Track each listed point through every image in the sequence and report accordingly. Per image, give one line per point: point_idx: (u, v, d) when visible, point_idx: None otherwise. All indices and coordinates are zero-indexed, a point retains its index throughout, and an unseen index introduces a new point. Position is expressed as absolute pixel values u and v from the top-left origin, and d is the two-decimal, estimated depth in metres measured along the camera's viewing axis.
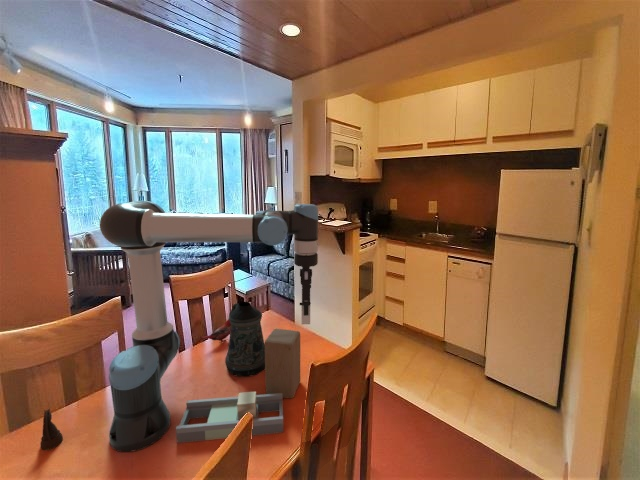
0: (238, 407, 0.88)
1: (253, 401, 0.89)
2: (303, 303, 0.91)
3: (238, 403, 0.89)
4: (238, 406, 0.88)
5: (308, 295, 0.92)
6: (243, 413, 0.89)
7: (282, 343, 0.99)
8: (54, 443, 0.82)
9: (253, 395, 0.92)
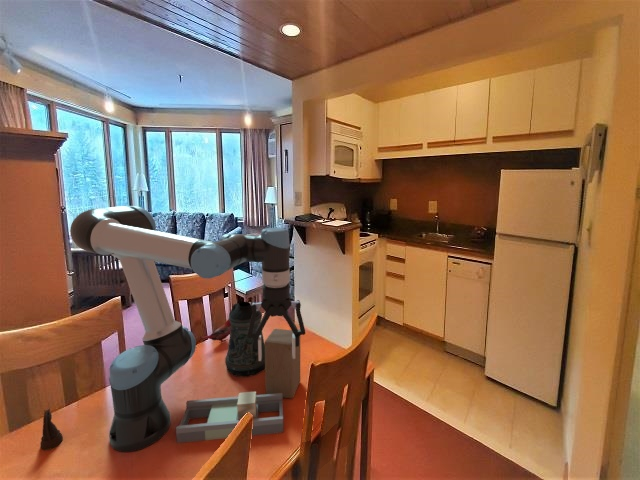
0: (238, 407, 0.88)
1: (253, 401, 0.89)
2: None
3: (238, 403, 0.89)
4: (238, 406, 0.88)
5: (249, 327, 0.86)
6: (243, 413, 0.89)
7: (282, 343, 0.99)
8: (54, 443, 0.82)
9: (253, 395, 0.92)
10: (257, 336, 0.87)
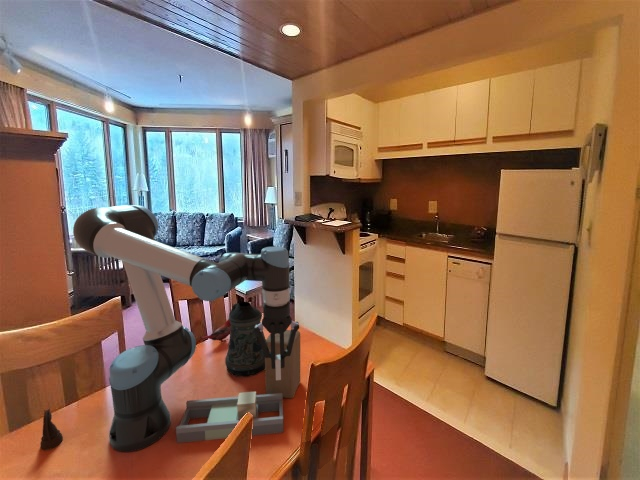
0: (238, 407, 0.88)
1: (253, 401, 0.89)
2: None
3: (238, 403, 0.89)
4: (238, 406, 0.88)
5: (262, 348, 0.88)
6: (243, 413, 0.89)
7: None
8: (54, 443, 0.82)
9: (253, 395, 0.92)
10: (273, 356, 0.88)
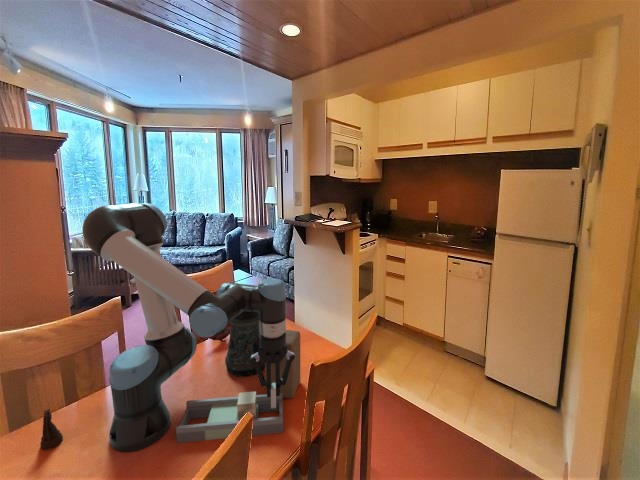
0: (238, 407, 0.88)
1: (253, 401, 0.89)
2: None
3: (238, 403, 0.89)
4: (238, 406, 0.88)
5: None
6: (243, 413, 0.89)
7: None
8: (54, 443, 0.82)
9: (253, 395, 0.92)
10: (269, 385, 0.90)
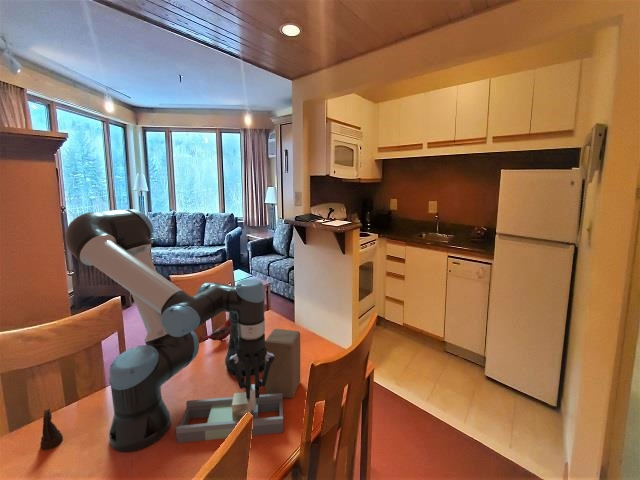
0: (233, 408, 0.88)
1: (248, 401, 0.89)
2: None
3: (233, 403, 0.88)
4: (233, 407, 0.88)
5: None
6: (238, 413, 0.89)
7: (282, 343, 0.99)
8: (54, 443, 0.82)
9: None
10: (248, 386, 0.89)
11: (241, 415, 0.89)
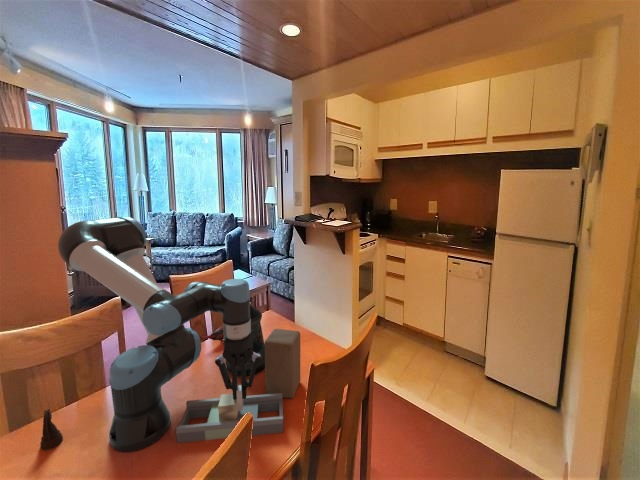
0: (219, 409, 0.88)
1: (235, 403, 0.89)
2: None
3: (219, 405, 0.88)
4: (219, 408, 0.87)
5: None
6: (224, 415, 0.88)
7: (282, 343, 0.99)
8: (54, 443, 0.82)
9: None
10: (235, 387, 0.88)
11: (228, 416, 0.88)
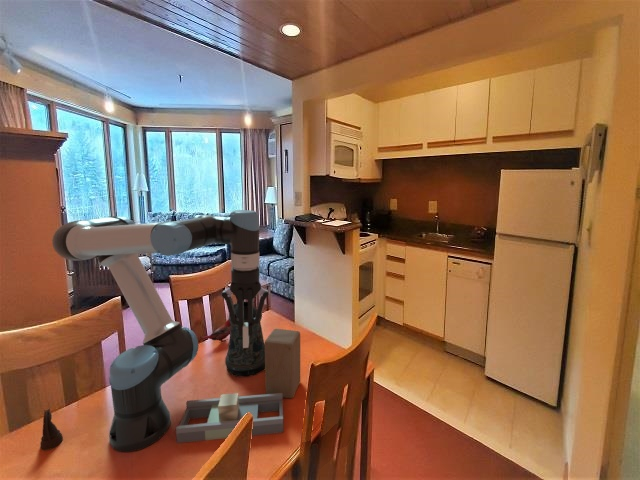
0: (219, 409, 0.88)
1: (235, 403, 0.89)
2: None
3: (219, 405, 0.88)
4: (219, 408, 0.87)
5: None
6: (224, 415, 0.88)
7: (282, 343, 0.99)
8: (54, 443, 0.82)
9: (235, 397, 0.91)
10: (241, 322, 0.86)
11: (228, 416, 0.88)
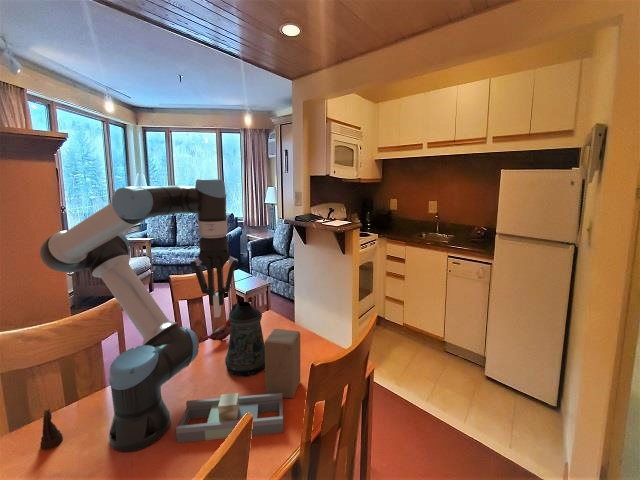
0: (219, 409, 0.88)
1: (235, 403, 0.89)
2: None
3: (219, 405, 0.88)
4: (219, 408, 0.87)
5: None
6: (224, 415, 0.88)
7: (282, 343, 0.99)
8: (54, 443, 0.82)
9: (235, 397, 0.91)
10: (211, 291, 0.87)
11: (228, 416, 0.88)
